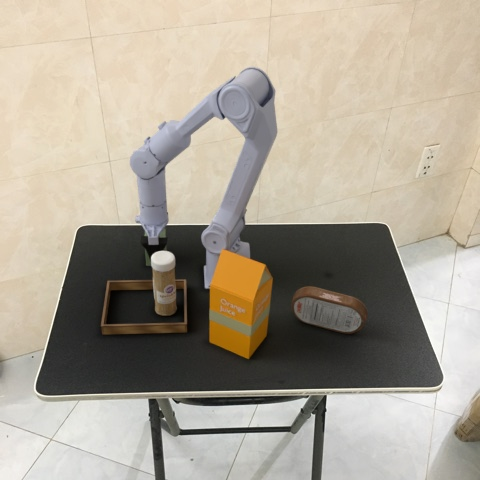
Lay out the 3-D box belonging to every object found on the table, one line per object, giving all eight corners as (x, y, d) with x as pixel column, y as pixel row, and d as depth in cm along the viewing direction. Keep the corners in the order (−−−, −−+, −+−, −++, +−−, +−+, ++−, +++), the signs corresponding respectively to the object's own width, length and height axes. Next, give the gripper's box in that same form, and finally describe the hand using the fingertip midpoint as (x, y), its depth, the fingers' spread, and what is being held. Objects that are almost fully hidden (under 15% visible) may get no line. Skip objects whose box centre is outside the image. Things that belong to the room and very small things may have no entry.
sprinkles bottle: (165, 320, 111) (162, 267, 102) (150, 309, 113) (145, 256, 104) (181, 309, 113) (179, 256, 104) (166, 299, 116) (163, 246, 106)
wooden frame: (186, 287, 119) (186, 279, 117) (187, 332, 108) (187, 324, 107) (108, 289, 117) (107, 280, 116) (102, 334, 107) (100, 326, 105)
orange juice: (248, 359, 104) (255, 276, 90) (208, 342, 107) (209, 259, 93) (267, 335, 109) (276, 252, 95) (228, 319, 112) (232, 237, 98)
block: (166, 254, 127) (165, 228, 122) (166, 265, 124) (165, 240, 119) (147, 254, 127) (145, 228, 122) (146, 266, 123) (144, 240, 119)
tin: (363, 330, 111) (372, 298, 105) (360, 340, 109) (369, 309, 103) (291, 311, 114) (296, 280, 109) (287, 321, 112) (292, 289, 106)
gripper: (135, 182, 120) (140, 234, 129) (131, 218, 109) (136, 273, 118) (168, 182, 120) (170, 234, 129) (167, 218, 110) (170, 272, 119)
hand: (156, 252), depth 124 cm, fingers open, 7 cm apart
